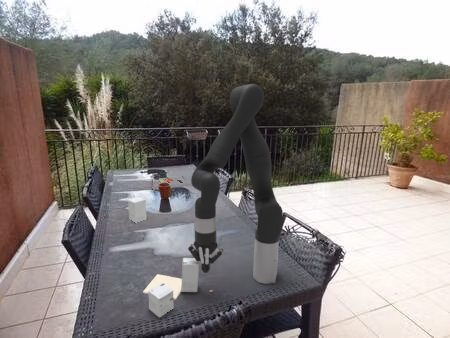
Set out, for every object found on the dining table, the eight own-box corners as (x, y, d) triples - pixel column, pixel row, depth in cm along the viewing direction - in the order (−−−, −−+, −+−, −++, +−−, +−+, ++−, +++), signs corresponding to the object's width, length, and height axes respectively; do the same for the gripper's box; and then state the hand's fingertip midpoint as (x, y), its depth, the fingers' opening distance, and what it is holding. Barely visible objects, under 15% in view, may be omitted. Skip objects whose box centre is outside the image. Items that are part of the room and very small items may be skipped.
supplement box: (147, 220, 164) (146, 199, 161) (135, 224, 159) (134, 202, 156) (140, 216, 169) (139, 196, 166) (128, 220, 164) (127, 199, 161)
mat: (187, 281, 112) (187, 280, 111) (175, 300, 101) (175, 298, 101) (157, 275, 115) (157, 274, 115) (142, 293, 104) (142, 291, 104)
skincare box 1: (159, 318, 93) (158, 299, 91) (148, 309, 97) (147, 290, 95) (174, 308, 97) (173, 290, 95) (163, 300, 101) (162, 282, 99)
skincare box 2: (197, 285, 109) (199, 257, 106) (197, 293, 105) (199, 264, 102) (181, 284, 108) (183, 256, 105) (180, 292, 104) (182, 264, 101)
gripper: (226, 225, 100) (226, 268, 105) (191, 220, 103) (192, 262, 108) (221, 234, 93) (220, 281, 98) (183, 229, 96) (184, 274, 101)
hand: (205, 271), depth 103 cm, fingers closed
